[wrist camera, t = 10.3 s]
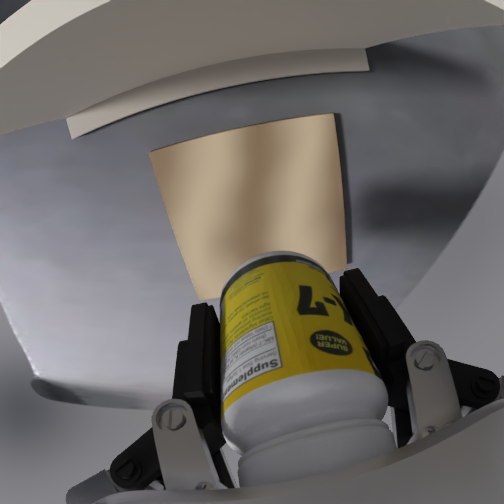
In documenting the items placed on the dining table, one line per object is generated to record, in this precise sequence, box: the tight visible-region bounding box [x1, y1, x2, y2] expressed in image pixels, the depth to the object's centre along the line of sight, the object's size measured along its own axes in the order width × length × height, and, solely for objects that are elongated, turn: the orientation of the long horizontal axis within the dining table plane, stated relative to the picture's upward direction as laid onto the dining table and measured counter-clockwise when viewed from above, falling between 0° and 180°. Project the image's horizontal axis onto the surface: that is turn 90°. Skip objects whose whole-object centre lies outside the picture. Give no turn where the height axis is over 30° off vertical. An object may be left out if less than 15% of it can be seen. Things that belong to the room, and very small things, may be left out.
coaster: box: [149, 113, 347, 301], centre depth 20 cm, size 12×12×1 cm
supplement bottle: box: [220, 251, 397, 488], centre depth 8 cm, size 5×5×8 cm
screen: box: [0, 0, 504, 139], centre depth 9 cm, size 20×4×14 cm, turn 101°
